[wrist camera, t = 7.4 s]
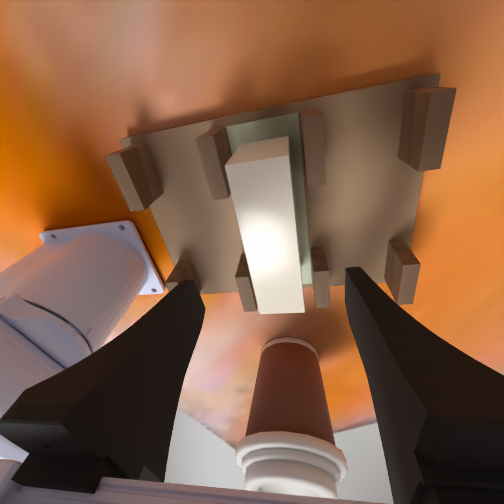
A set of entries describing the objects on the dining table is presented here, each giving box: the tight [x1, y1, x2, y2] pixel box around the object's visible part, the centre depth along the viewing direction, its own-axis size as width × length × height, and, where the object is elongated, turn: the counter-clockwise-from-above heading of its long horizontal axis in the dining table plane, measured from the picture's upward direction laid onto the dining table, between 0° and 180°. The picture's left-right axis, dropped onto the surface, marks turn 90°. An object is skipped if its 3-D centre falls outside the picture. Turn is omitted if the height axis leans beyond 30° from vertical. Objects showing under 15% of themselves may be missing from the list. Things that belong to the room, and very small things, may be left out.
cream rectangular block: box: [225, 136, 305, 314], centre depth 16 cm, size 3×10×5 cm, turn 11°
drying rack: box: [104, 73, 456, 312], centre depth 18 cm, size 19×14×4 cm
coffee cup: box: [235, 337, 347, 499], centre depth 24 cm, size 9×9×12 cm
